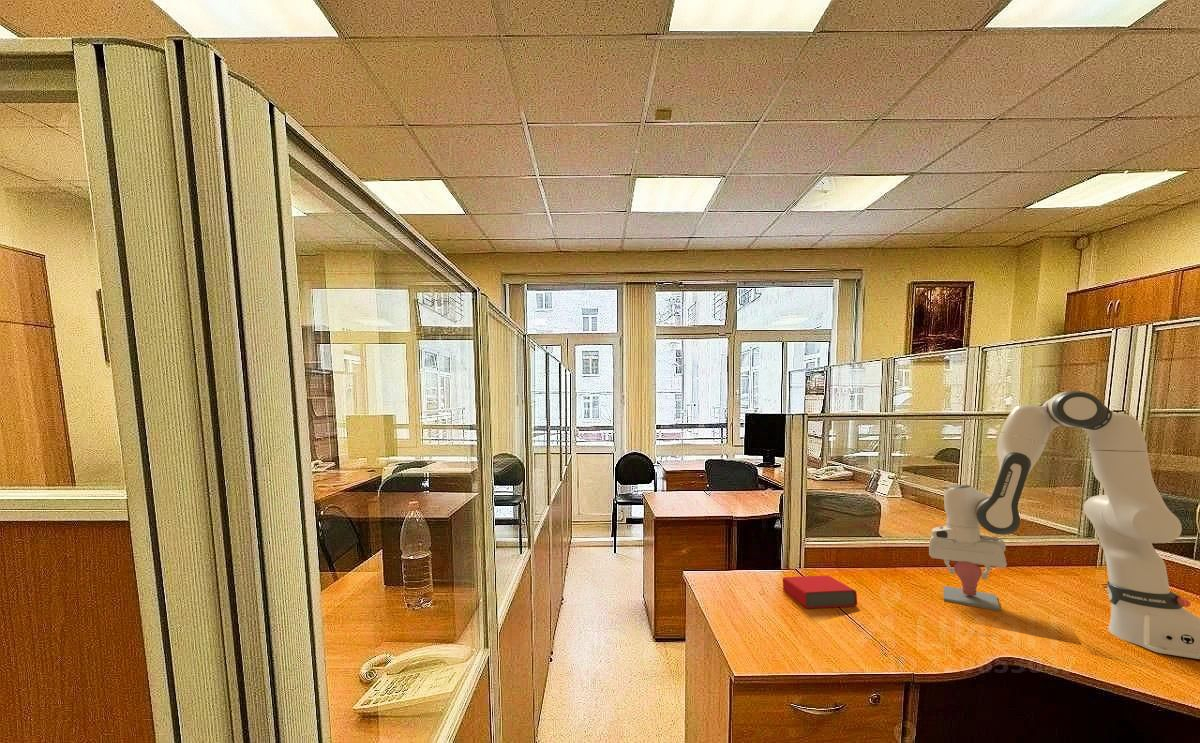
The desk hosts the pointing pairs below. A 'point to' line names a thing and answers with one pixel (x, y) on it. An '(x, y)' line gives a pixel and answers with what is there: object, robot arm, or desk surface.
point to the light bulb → (968, 576)
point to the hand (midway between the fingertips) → (968, 575)
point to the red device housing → (819, 591)
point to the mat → (971, 598)
